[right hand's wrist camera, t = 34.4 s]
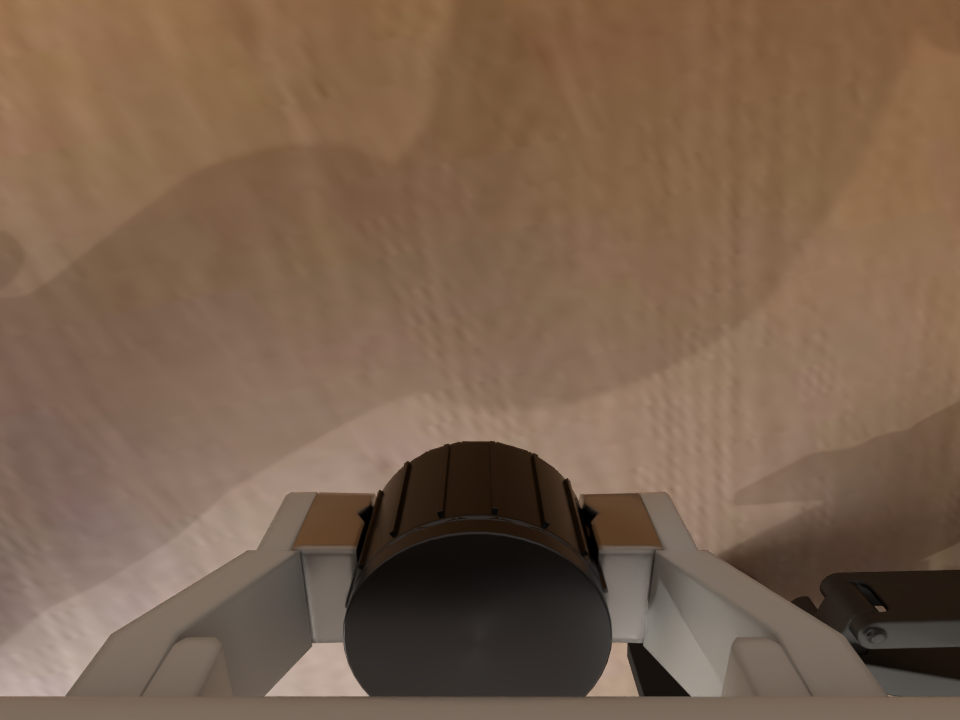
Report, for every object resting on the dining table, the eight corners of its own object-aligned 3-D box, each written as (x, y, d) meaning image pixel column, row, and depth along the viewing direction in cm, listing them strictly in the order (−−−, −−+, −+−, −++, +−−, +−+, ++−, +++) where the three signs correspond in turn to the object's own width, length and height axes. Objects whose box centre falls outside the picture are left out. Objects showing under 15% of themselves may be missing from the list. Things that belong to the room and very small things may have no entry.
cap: (619, 473, 10) (661, 574, 8) (541, 635, 11) (556, 763, 9) (403, 409, 9) (380, 497, 7) (348, 585, 11) (312, 707, 8)
